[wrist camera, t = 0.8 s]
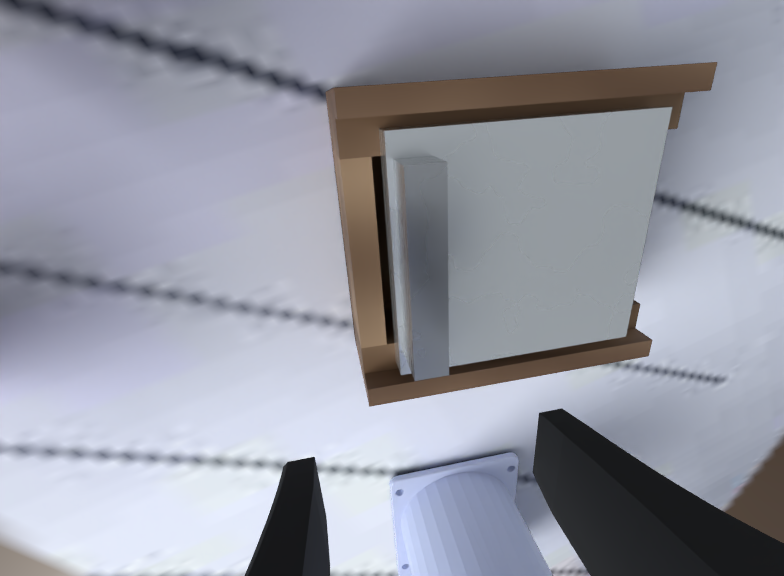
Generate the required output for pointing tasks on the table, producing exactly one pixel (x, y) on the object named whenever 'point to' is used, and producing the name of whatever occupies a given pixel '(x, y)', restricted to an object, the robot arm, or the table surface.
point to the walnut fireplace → (451, 105)
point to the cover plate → (516, 232)
